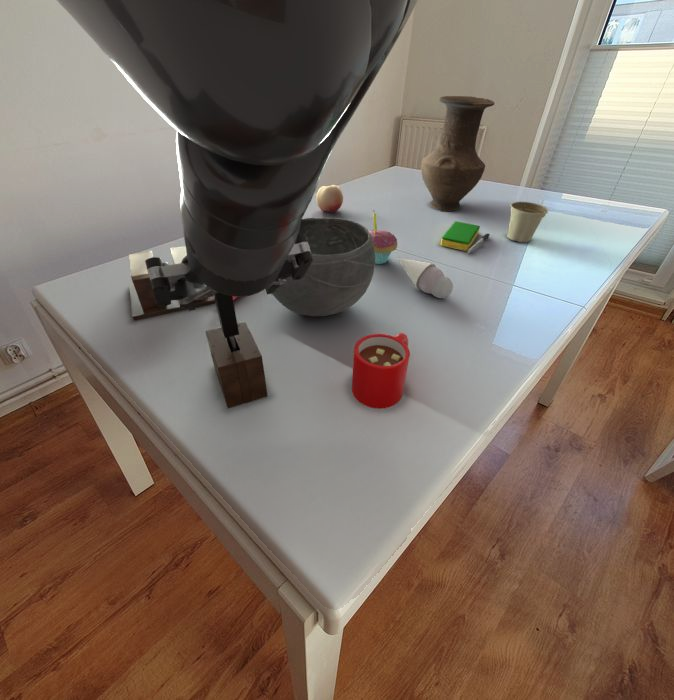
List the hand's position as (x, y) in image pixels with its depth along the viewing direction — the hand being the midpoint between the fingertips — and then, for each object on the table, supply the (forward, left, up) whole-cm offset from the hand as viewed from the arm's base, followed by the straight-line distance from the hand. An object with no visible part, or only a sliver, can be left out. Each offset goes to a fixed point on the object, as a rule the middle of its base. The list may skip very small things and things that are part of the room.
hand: (229, 293), depth 41 cm
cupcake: (+33, +45, -20) cm, 59 cm away
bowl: (+15, +27, -20) cm, 36 cm away
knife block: (-1, +7, -20) cm, 21 cm away
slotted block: (-14, +36, -20) cm, 43 cm away
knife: (+61, +47, -20) cm, 79 cm away
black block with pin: (-1, +7, -20) cm, 21 cm away
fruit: (+28, +81, -20) cm, 88 cm away
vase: (+67, +80, -20) cm, 106 cm away
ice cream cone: (+38, +30, -20) cm, 52 cm away
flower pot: (+76, +51, -20) cm, 93 cm away
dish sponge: (+59, +53, -20) cm, 81 cm away
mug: (+21, +3, -20) cm, 29 cm away
